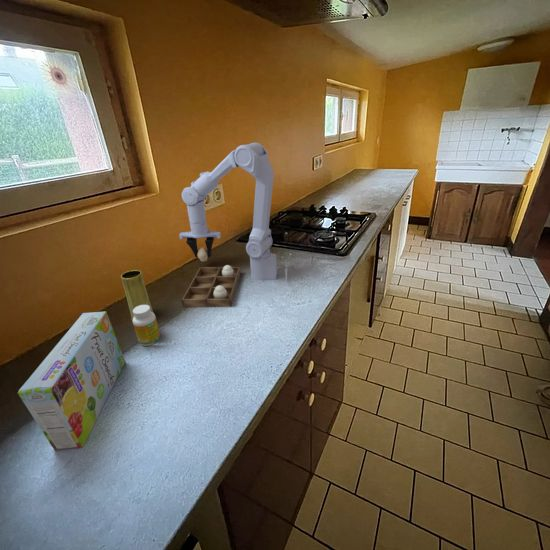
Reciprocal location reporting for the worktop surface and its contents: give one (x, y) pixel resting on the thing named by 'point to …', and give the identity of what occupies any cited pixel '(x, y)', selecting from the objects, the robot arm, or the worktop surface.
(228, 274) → the cream egg far
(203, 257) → the beige egg
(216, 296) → the cream egg near
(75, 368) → the snack box
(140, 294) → the vase
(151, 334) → the supplement bottle
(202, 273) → the egg tray
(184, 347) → the worktop surface
